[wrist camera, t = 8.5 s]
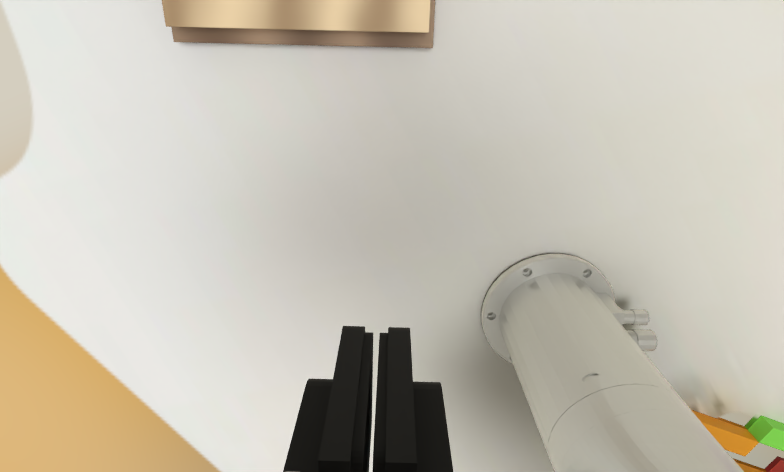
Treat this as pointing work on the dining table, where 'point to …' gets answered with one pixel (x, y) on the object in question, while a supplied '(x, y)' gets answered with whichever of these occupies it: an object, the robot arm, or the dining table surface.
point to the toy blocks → (747, 438)
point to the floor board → (303, 22)
